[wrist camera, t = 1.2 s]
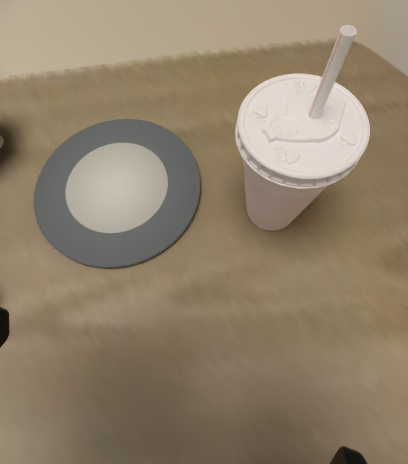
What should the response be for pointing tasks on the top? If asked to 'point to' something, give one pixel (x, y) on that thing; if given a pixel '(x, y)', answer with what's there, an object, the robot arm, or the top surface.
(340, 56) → the smoothie
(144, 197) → the coaster
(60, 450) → the top surface
